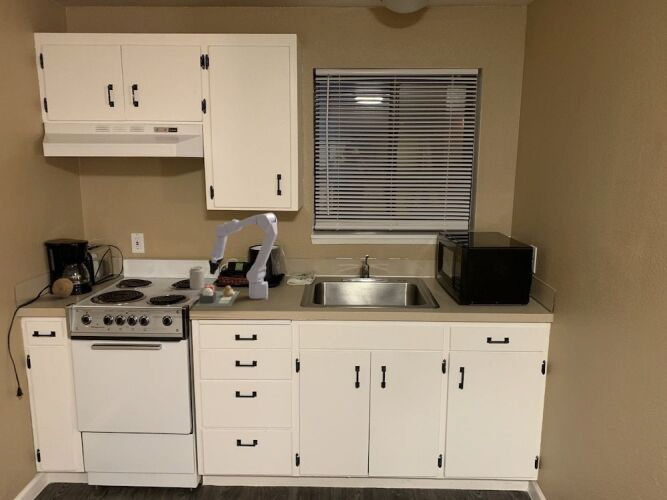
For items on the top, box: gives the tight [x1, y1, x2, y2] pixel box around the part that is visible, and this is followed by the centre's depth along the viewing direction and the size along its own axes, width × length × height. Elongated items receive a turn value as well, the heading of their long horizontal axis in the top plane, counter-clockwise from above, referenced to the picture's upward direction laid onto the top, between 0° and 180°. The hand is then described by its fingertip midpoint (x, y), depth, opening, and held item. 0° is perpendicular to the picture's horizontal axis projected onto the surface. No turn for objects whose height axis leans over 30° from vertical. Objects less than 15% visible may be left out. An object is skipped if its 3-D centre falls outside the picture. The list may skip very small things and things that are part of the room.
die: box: [204, 284, 215, 292], centre depth 240 cm, size 4×4×4 cm
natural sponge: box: [51, 277, 74, 299], centre depth 231 cm, size 9×9×10 cm
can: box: [188, 266, 205, 290], centre depth 252 cm, size 8×8×12 cm
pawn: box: [222, 285, 234, 297], centre depth 237 cm, size 5×5×5 cm
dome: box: [202, 287, 213, 296], centre depth 227 cm, size 5×5×5 cm
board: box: [194, 290, 240, 307], centre depth 233 cm, size 17×26×4 cm, turn 2°
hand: (213, 271), depth 242 cm, fingers open, 7 cm apart
